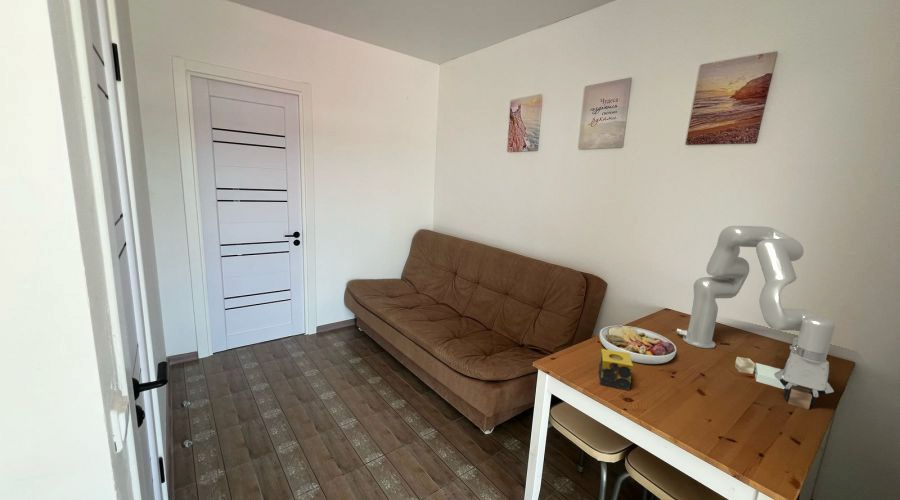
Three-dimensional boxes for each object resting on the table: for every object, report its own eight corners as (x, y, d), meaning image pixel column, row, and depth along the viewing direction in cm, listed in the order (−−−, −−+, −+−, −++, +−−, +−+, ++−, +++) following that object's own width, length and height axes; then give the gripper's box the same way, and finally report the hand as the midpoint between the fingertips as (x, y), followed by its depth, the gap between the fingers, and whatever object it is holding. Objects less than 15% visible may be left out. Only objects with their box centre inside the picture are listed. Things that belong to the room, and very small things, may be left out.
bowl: (589, 350, 157) (591, 333, 155) (609, 329, 179) (611, 314, 178) (667, 376, 138) (670, 357, 137) (679, 349, 161) (682, 333, 159)
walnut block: (788, 403, 123) (791, 390, 122) (786, 396, 127) (789, 384, 126) (808, 409, 120) (812, 396, 119) (805, 402, 124) (809, 389, 123)
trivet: (756, 381, 136) (757, 374, 136) (754, 369, 145) (755, 362, 144) (795, 392, 130) (797, 384, 129) (791, 379, 139) (792, 372, 138)
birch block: (739, 372, 143) (741, 361, 142) (734, 366, 147) (736, 356, 146) (752, 374, 142) (755, 364, 141) (747, 368, 146) (749, 358, 145)
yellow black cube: (626, 377, 136) (630, 352, 134) (630, 391, 127) (634, 365, 125) (597, 371, 139) (601, 347, 137) (599, 385, 130) (602, 360, 128)
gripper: (777, 349, 122) (766, 397, 126) (850, 366, 112) (835, 417, 116) (775, 341, 128) (764, 387, 131) (844, 357, 118) (830, 406, 122)
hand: (797, 401), depth 123 cm, fingers closed on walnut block, 5 cm apart
